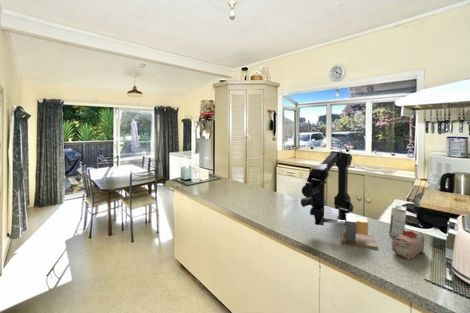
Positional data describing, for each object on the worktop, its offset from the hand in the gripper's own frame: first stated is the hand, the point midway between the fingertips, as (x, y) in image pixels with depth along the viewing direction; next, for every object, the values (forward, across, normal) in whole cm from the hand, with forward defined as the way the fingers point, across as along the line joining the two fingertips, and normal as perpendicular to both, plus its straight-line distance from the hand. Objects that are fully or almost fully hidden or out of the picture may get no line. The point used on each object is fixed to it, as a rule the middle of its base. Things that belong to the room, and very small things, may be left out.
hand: (317, 223), depth 121 cm
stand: (+6, 0, +19) cm, 19 cm away
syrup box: (+6, -13, +37) cm, 40 cm away
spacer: (+1, 0, +20) cm, 20 cm away
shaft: (0, 0, +9) cm, 9 cm away
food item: (+6, +5, +37) cm, 38 cm away
